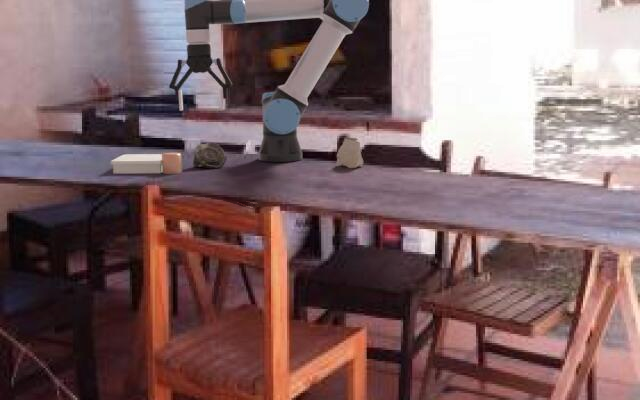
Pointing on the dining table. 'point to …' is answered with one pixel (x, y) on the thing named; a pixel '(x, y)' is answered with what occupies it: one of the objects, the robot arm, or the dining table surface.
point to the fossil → (209, 156)
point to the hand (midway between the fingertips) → (202, 109)
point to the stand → (138, 163)
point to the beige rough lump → (350, 153)
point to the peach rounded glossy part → (171, 163)
